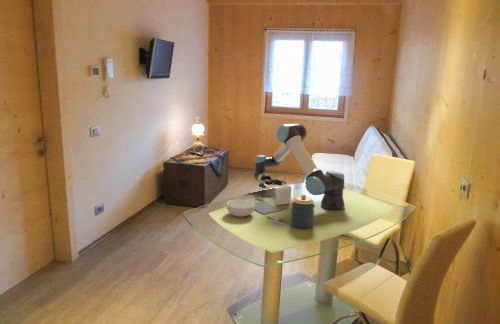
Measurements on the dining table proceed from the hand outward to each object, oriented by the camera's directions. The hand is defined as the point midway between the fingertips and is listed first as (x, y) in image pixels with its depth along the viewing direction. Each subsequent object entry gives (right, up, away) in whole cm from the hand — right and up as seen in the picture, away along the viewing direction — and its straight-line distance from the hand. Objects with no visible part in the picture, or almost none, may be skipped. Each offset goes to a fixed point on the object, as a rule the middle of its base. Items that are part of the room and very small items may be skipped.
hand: (277, 187), depth 260 cm
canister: (+11, -18, -43) cm, 48 cm away
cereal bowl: (-24, -14, -31) cm, 42 cm away
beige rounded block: (+3, -10, -7) cm, 13 cm away
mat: (-10, -12, -17) cm, 23 cm away
